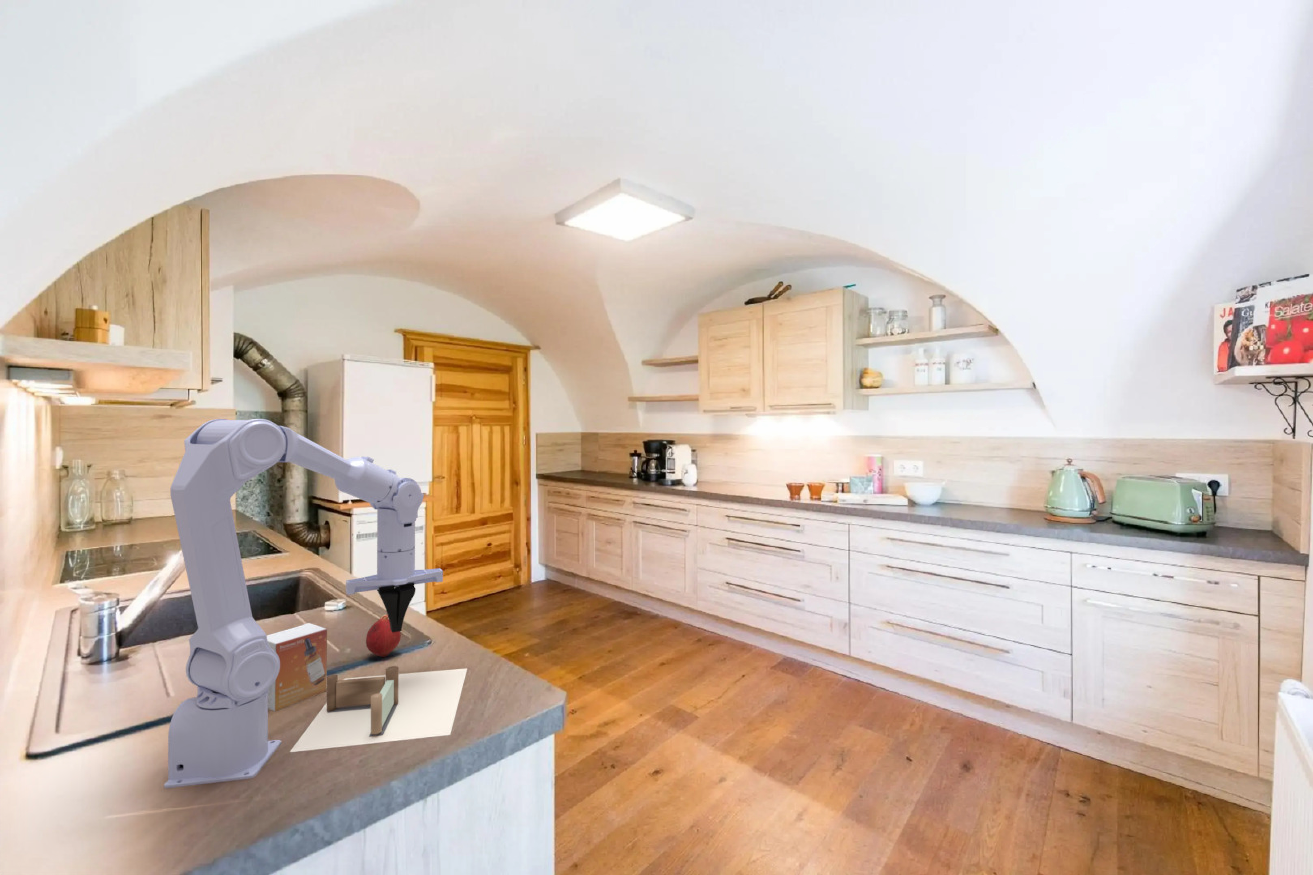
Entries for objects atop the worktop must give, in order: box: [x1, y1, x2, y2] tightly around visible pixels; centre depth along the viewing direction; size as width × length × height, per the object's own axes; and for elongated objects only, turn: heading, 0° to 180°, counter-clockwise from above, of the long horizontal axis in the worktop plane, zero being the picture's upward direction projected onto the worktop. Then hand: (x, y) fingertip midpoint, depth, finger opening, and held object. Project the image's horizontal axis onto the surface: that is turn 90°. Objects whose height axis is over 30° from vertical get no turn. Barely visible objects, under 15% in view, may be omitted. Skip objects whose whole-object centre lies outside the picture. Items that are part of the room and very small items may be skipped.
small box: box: [266, 622, 328, 712], centre depth 88 cm, size 8×6×10 cm
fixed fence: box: [326, 665, 400, 712], centre depth 84 cm, size 10×2×6 cm, turn 103°
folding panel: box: [371, 680, 394, 734], centre depth 80 cm, size 8×1×5 cm, turn 13°
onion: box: [365, 614, 402, 658], centre depth 104 cm, size 6×6×8 cm
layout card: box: [289, 667, 468, 753], centre depth 85 cm, size 20×22×1 cm
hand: (395, 630), depth 92 cm, fingers closed
